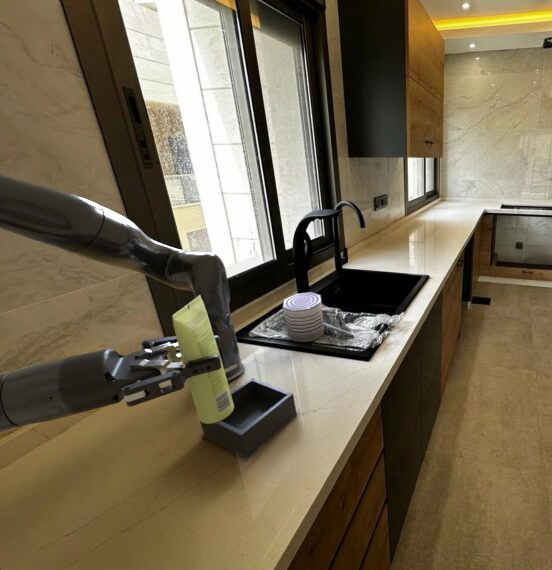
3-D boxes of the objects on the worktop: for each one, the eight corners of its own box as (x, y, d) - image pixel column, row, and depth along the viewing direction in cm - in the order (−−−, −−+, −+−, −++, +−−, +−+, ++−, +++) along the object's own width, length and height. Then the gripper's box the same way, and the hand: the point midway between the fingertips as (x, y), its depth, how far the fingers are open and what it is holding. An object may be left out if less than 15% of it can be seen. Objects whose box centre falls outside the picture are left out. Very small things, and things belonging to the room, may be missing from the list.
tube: (193, 412, 53) (159, 304, 46) (226, 396, 57) (200, 293, 50) (205, 430, 50) (171, 316, 43) (240, 412, 54) (214, 304, 46)
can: (332, 329, 109) (328, 296, 105) (307, 345, 99) (302, 309, 95) (306, 322, 113) (301, 290, 109) (280, 337, 104) (274, 302, 99)
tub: (204, 436, 67) (197, 413, 65) (256, 398, 78) (252, 377, 75) (247, 458, 62) (240, 435, 60) (296, 414, 73) (293, 393, 70)
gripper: (33, 395, 35) (214, 352, 43) (79, 335, 47) (215, 311, 55) (60, 446, 38) (226, 398, 46) (97, 378, 50) (225, 349, 58)
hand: (219, 351), depth 51 cm, fingers closed on tube, 5 cm apart
